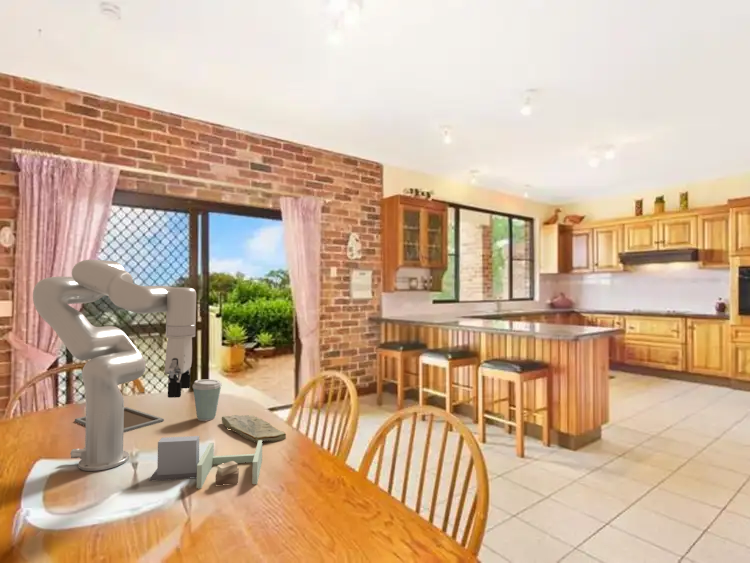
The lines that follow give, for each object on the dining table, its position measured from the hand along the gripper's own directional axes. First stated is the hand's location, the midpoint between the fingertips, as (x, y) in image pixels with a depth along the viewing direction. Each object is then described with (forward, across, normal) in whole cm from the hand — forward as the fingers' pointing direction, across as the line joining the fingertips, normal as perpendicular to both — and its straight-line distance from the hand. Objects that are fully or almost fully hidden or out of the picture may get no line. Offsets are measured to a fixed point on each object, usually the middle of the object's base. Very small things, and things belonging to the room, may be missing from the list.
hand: (179, 392), depth 118 cm
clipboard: (+24, -51, -35) cm, 66 cm away
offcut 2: (+23, +8, +15) cm, 28 cm away
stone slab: (+23, -32, +16) cm, 43 cm away
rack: (+22, +2, +15) cm, 27 cm away
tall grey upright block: (+22, 0, 0) cm, 22 cm away
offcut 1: (+20, +8, +15) cm, 26 cm away
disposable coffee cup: (+23, -49, -2) cm, 54 cm away
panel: (+23, 0, 0) cm, 23 cm away
